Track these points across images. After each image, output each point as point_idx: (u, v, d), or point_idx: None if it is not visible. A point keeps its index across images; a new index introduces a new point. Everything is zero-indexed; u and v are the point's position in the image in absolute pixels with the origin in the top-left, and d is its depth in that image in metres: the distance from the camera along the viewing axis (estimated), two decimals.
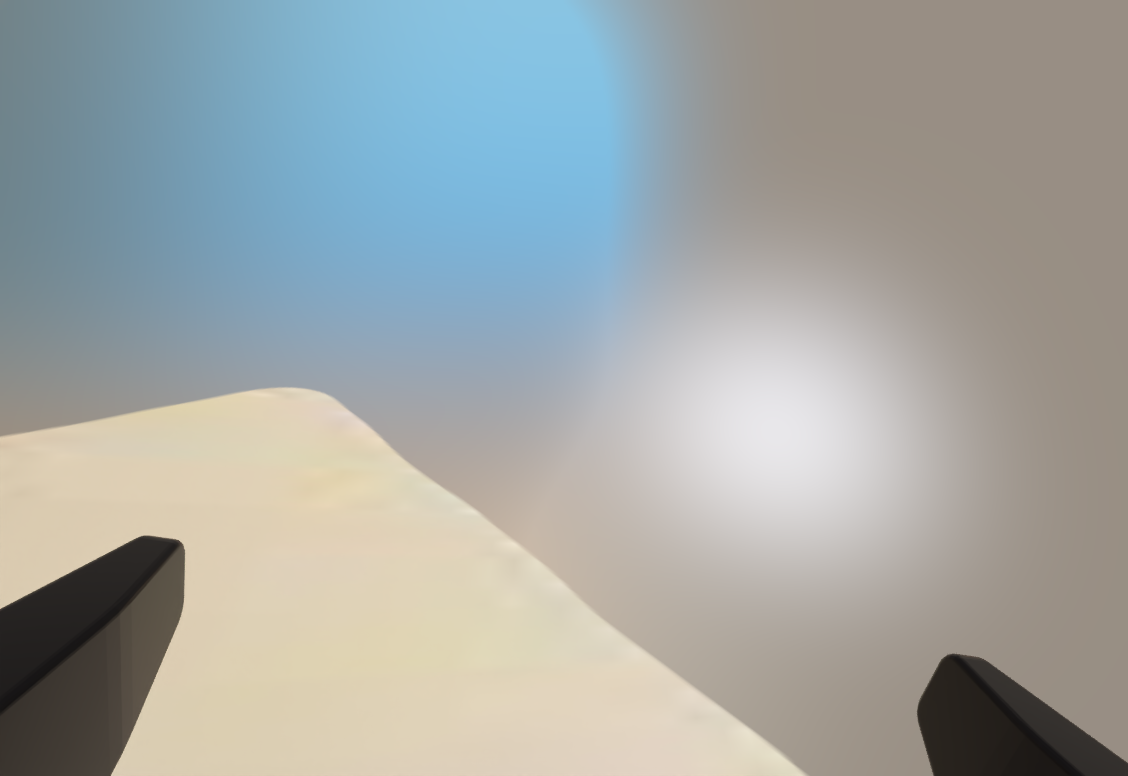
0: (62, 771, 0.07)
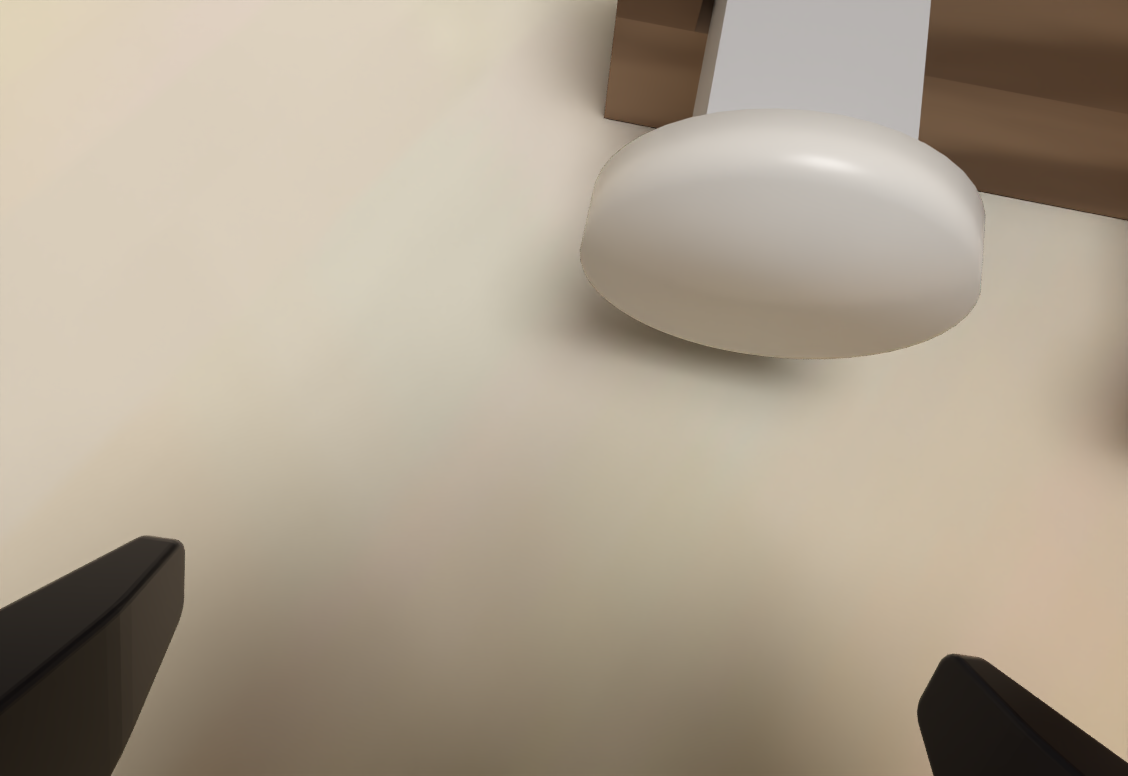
0: (62, 771, 0.07)
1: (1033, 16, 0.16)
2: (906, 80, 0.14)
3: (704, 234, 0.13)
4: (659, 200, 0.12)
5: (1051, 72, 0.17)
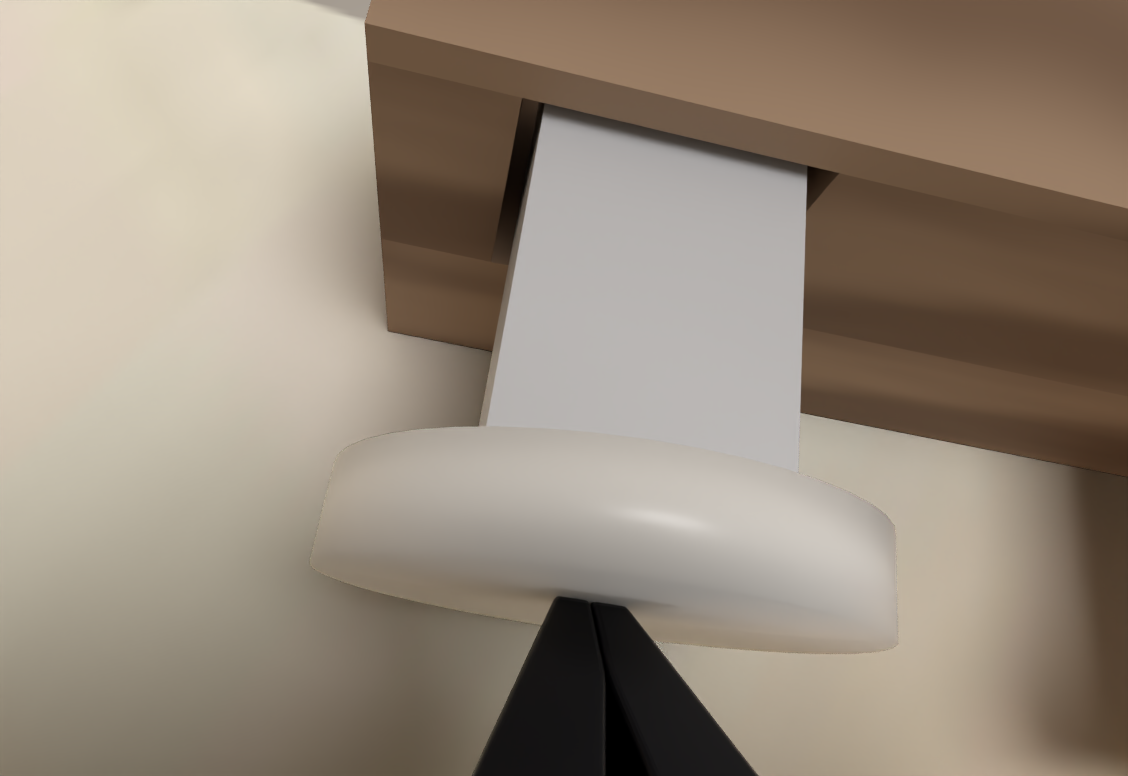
0: None
1: (922, 283, 0.12)
2: (779, 325, 0.10)
3: (490, 581, 0.08)
4: (409, 557, 0.07)
5: (940, 334, 0.14)
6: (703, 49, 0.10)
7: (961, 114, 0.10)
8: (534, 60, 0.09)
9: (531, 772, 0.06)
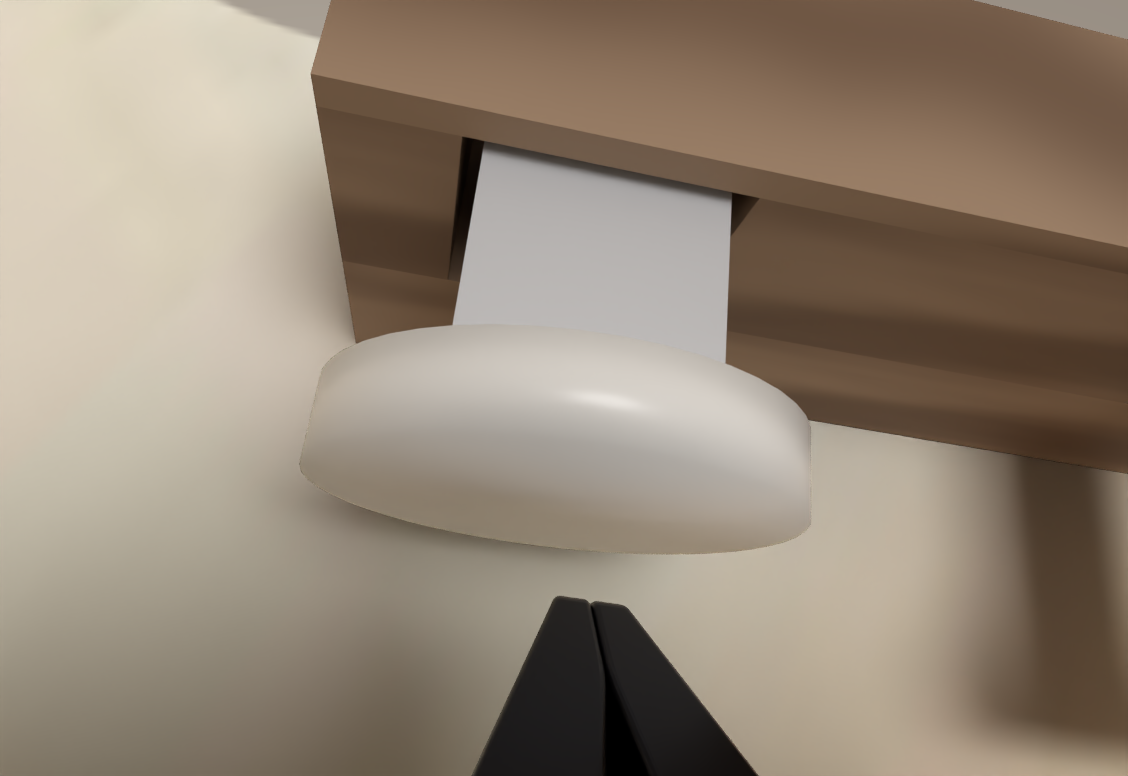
0: None
1: (850, 293, 0.13)
2: (709, 250, 0.11)
3: (457, 468, 0.10)
4: (384, 441, 0.09)
5: (873, 337, 0.15)
6: (629, 87, 0.10)
7: (870, 141, 0.11)
8: (471, 103, 0.10)
9: (531, 772, 0.06)
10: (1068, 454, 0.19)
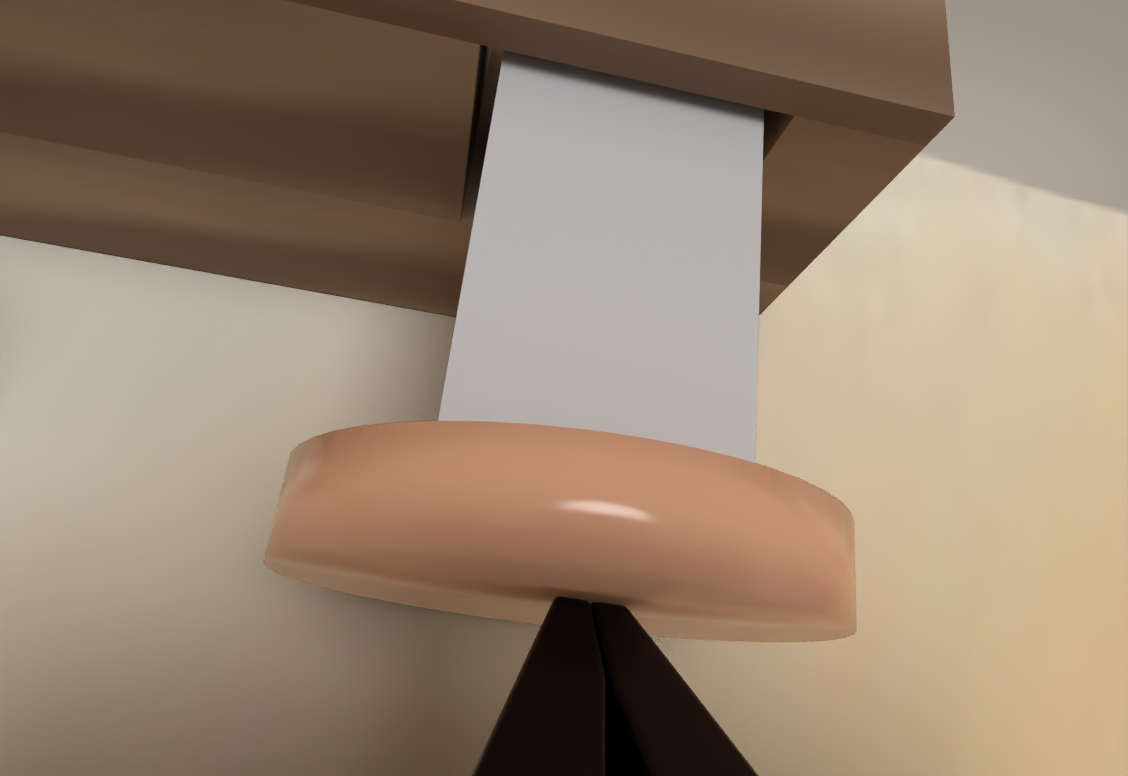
0: None
1: None
2: None
3: None
4: None
5: (75, 118, 0.12)
6: None
7: None
8: None
9: (531, 772, 0.06)
10: None
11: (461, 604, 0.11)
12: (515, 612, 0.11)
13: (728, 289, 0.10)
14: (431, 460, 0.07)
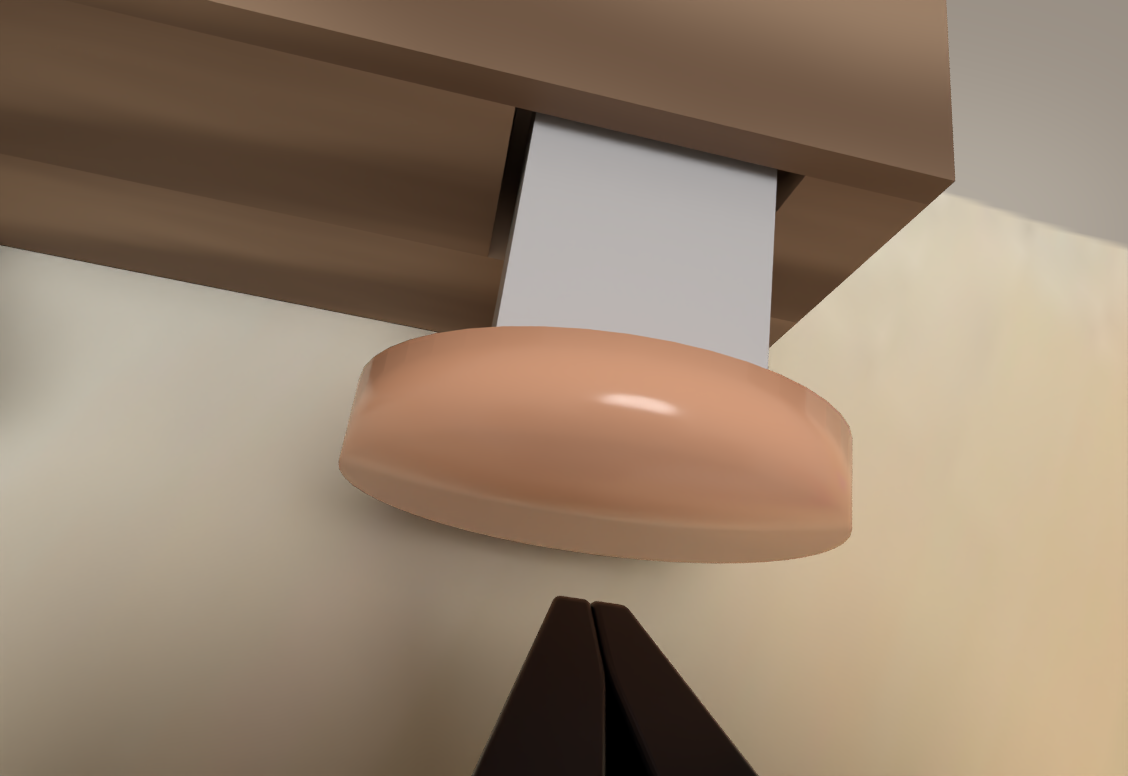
0: None
1: (16, 83, 0.12)
2: None
3: None
4: None
5: (133, 157, 0.13)
6: None
7: None
8: None
9: (531, 772, 0.06)
10: None
11: (501, 519, 0.12)
12: (548, 529, 0.13)
13: (746, 237, 0.11)
14: (496, 358, 0.08)
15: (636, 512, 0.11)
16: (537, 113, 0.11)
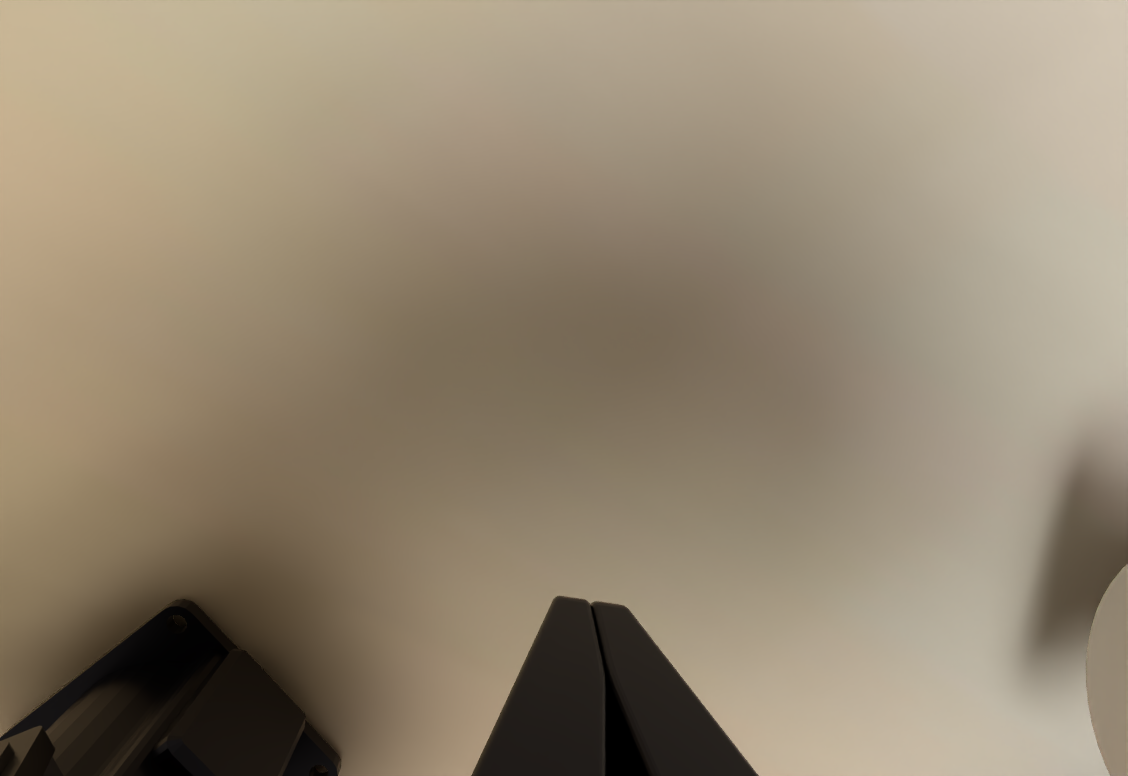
0: None
1: None
2: None
3: None
4: None
5: None
6: None
7: None
8: None
9: (531, 772, 0.06)
10: None
11: None
12: None
13: None
14: None
15: None
16: None
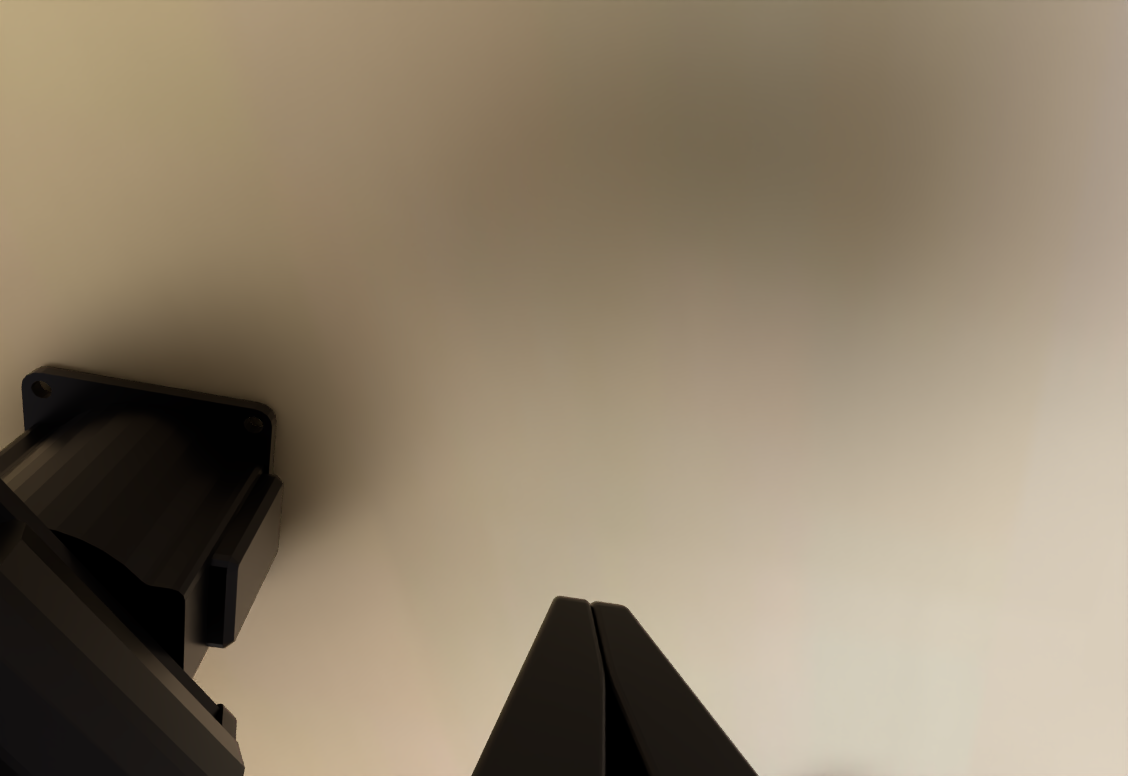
0: None
1: None
2: None
3: None
4: None
5: None
6: None
7: None
8: None
9: (531, 772, 0.06)
10: None
11: None
12: None
13: None
14: None
15: None
16: None
